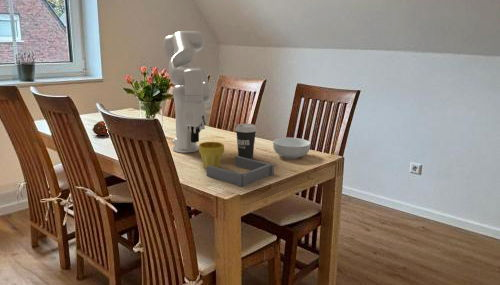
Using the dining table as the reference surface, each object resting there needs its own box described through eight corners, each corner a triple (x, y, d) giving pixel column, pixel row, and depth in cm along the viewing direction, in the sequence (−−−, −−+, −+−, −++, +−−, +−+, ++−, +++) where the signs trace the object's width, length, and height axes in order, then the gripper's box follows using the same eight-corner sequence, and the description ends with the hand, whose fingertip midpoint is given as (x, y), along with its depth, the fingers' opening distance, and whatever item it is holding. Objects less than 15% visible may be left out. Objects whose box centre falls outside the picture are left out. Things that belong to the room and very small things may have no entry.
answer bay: (205, 176, 172) (205, 166, 171) (238, 164, 188) (238, 155, 187) (242, 187, 161) (242, 176, 160) (275, 173, 177) (275, 164, 176)
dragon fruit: (101, 141, 230) (100, 139, 241) (114, 130, 232) (112, 129, 243) (90, 128, 227) (89, 127, 238) (103, 118, 229) (101, 117, 240)
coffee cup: (234, 155, 202) (234, 123, 198) (255, 154, 203) (255, 123, 199) (235, 161, 193) (235, 127, 189) (257, 160, 194) (257, 127, 190)
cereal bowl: (279, 162, 192) (280, 147, 190) (268, 152, 207) (268, 138, 206) (315, 160, 196) (316, 145, 194) (301, 150, 212) (302, 136, 210)
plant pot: (226, 169, 181) (226, 146, 178) (201, 171, 178) (201, 148, 175) (221, 162, 190) (221, 140, 188) (197, 164, 187) (197, 142, 185)
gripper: (175, 98, 185) (176, 140, 189) (200, 101, 176) (201, 146, 180) (188, 96, 190) (189, 138, 194) (213, 99, 181) (213, 142, 185)
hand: (195, 141), depth 187 cm, fingers closed
